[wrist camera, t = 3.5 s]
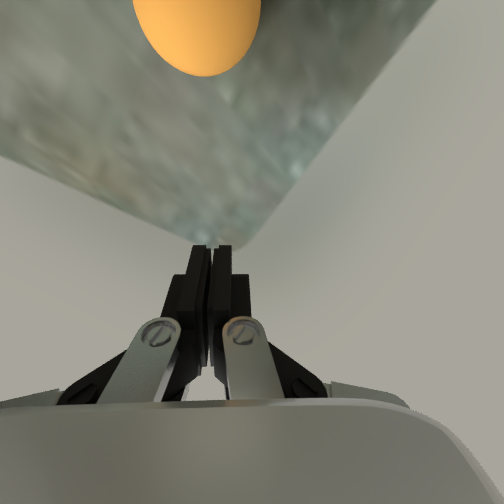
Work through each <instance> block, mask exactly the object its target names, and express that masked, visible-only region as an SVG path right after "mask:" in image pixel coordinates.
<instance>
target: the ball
mask: <svg viewBox="0 0 504 504" xmlns="http://www.w3.org/2000/svg"><path fill="white" fill-rule="evenodd" d="M133 4H134V8H135V11H136V15H137V18H138V20H139V23H140V25H141V28H142V30H143V32H144V33H145V35H146V37H147V39H148V40H149V42H150V43H151V45H152V46H153V48H154V49H155V50H156V51H157V52H158V54H159V55H160V56H161V57H162V58H163V59H165V60H166V61H167V62H168V63H170V64H171V65H172V66H174V67H175V68H177V69H179V70H181V71H183V72H185V73H188V74H191V75H195V76H213V75H218V74H220V73H223V72H225V71H227V70H229V69H230V68H232V67H233V66H234V65H236V64H237V63H238V62H239V61H240V60H241V59H242V58H243V56H244V55H245V54H246V52H247V51H248V49H249V47H250V46H251V44H252V41H253V39H254V37H255V34H256V31H257V27H258V23H259V17H260V9H261V0H133Z"/></svg>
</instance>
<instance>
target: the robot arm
mask: <svg viewBox="0 0 504 504" xmlns="http://www.w3.org/2000/svg"><path fill="white" fill-rule="evenodd" d="M231 256H232V246H231V245H219V248H214V255H213V264H212V261H211V248H206V245H193V247H192V251H191V255H190V259H189V263H188V266H187V271H186V274H182V275H179V274H177V275H176V274H175V275H174V276H173V278H172V282H171V284H170V287H169V291H168V294H167V297H166V300H165V303H164V307H163V310H162V313H161V316H160V318H155V319H152V320H150V321H148V322H146V323H145V324H144V325H142V327H141V328H140V329H139V330H138V332H137V334H136V335H135V337H134V339H133V340H132V342H131V344H130V346H129V348H128V349H127V350H125V351H124V352H122V353H121V354H119V355H117V356H116V357H114V358H113V359H111V360H110V361H108V362H106V363H105V364H103V365H102V366H100V367H98V368H97V369H95V370H94V371H92V372H91V373H89V374H87V375H86V376H84V377H83V378H81V379H80V380H78V381H76V382H75V383H73V384H72V385H71V386H69V387H68V388H67V389H66V390H65V391H60V390H59V389H54V390H50V391H45V392H41V393H37V394H32V395H28V396H23V397H19V398H14V399H10V400H6V401H1V402H0V504H504V498H503V496H502V495H501V493H500V492H499V490H498V489H497V487H496V486H495V484H494V483H493V481H492V480H491V478H490V477H489V476H488V474H487V473H486V472H485V470H484V469H483V467H482V466H481V465H480V463H479V462H478V461H477V459H476V458H475V457H474V455H473V454H472V453H471V452H470V451H469V449H468V448H467V447H466V446H465V445H464V444H463V443H462V441H461V440H460V439H459V438H458V437H457V436H456V435H455V434H454V433H453V432H451V431H450V430H449V429H448V428H447V427H445V426H444V425H442V424H441V423H439V422H438V421H436V420H433V419H432V418H430V417H428V416H426V415H424V414H422V413H419V412H417V411H414V410H411V409H410V408H409V406H408V405H407V404H406V403H405V402H404V401H403V400H402V399H400V398H399V397H397V396H396V395H394V394H391V393H388V392H383V391H378V390H373V389H368V388H363V387H358V386H352V385H347V384H342V383H337V382H332V381H331V384H326V383H322V381H320V380H319V379H318V378H317V377H316V376H315V375H314V374H312V373H311V372H309V371H308V370H307V369H305V368H304V367H303V366H301V365H300V364H299V363H297V362H296V361H294V360H293V359H292V358H290V357H289V356H288V355H286V354H285V353H283V352H282V351H281V350H279V349H278V348H276V347H275V346H274V345H272V344H271V343H270V342H268V341H267V338H266V335H265V331H264V328H263V326H262V324H260V322H259V321H257V320H256V319H253V318H252V317H251V302H250V288H249V287H250V286H249V275H248V274H232V257H231ZM209 349H210V362H211V366H214V371H215V372H214V373H215V377H216V378H217V379H219V380H220V381H221V382H222V383H223V384H224V390H225V399H226V400H207V401H186V397H187V394H188V391H189V383H190V382H191V381H192V380H193V379H195V378H196V377H197V376H200V375H201V369H202V367H206V366H207V360H208V350H209Z"/></svg>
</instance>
